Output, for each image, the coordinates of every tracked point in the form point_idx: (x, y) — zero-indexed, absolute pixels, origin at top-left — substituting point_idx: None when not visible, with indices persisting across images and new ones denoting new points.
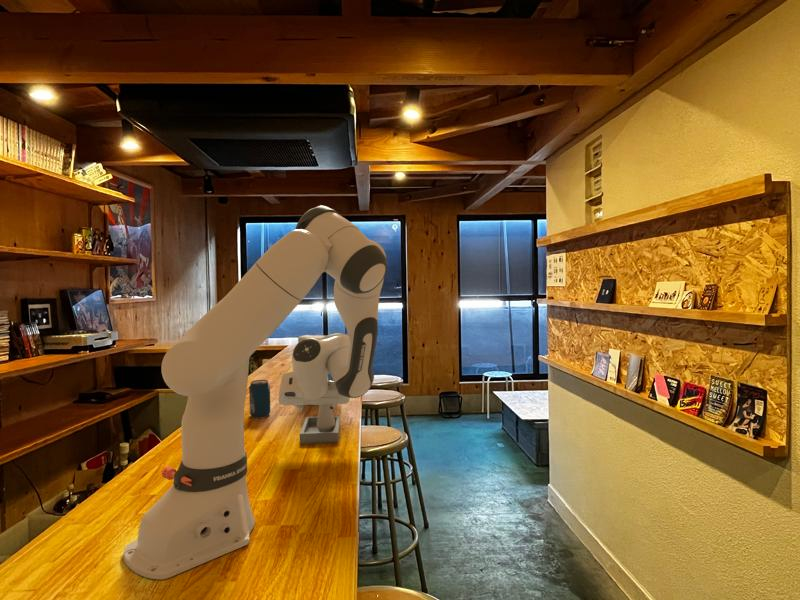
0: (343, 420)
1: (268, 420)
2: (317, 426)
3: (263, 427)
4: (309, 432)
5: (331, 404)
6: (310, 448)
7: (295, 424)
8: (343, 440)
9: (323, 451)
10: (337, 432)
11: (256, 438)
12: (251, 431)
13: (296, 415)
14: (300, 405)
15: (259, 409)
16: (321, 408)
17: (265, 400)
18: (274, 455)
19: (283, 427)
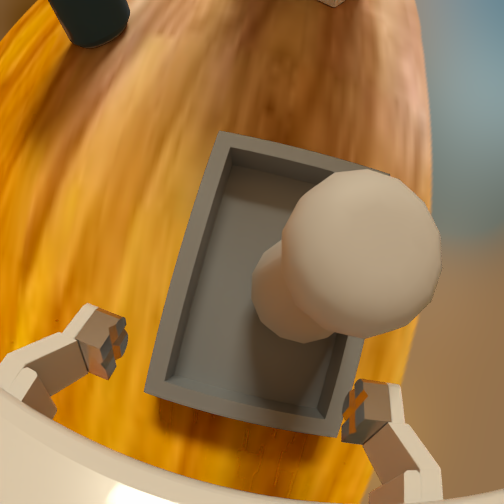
0: (389, 142)
1: (106, 69)
2: (252, 300)
3: (69, 131)
4: (194, 394)
5: (364, 434)
6: (197, 447)
7: (182, 122)
8: None
9: (245, 490)
10: (335, 435)
11: (24, 245)
12: (29, 165)
13: (210, 39)
14: (90, 361)
15: (80, 31)
16: (287, 308)
17: (90, 3)
18: None
19: (129, 146)
